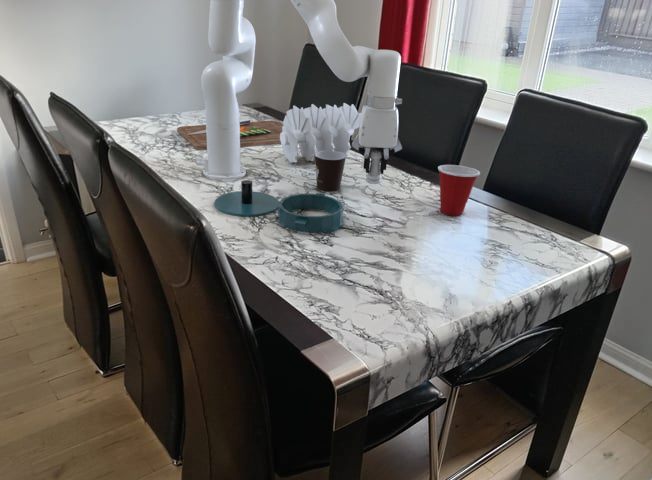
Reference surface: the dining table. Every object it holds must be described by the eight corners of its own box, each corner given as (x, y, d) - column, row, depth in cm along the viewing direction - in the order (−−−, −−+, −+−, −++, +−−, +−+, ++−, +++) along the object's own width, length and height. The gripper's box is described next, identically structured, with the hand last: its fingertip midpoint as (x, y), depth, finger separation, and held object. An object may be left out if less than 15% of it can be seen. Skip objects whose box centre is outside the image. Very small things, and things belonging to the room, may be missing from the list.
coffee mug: (340, 196, 160) (343, 161, 155) (310, 192, 161) (311, 157, 156) (347, 183, 170) (349, 149, 165) (318, 179, 171) (320, 146, 166)
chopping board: (188, 151, 189) (188, 141, 188) (168, 130, 210) (167, 122, 208) (311, 140, 208) (311, 132, 207) (281, 123, 229) (281, 115, 227)
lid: (204, 213, 144) (203, 188, 141) (228, 192, 158) (228, 168, 155) (267, 222, 141) (267, 196, 138) (286, 200, 155) (287, 176, 152)
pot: (267, 233, 136) (267, 215, 133) (291, 203, 154) (292, 187, 151) (331, 243, 133) (332, 225, 131) (348, 211, 151) (350, 194, 149)
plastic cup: (474, 208, 157) (482, 165, 151) (469, 222, 148) (478, 177, 142) (434, 201, 160) (441, 159, 154) (427, 215, 151) (434, 170, 145)
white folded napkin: (277, 171, 189) (343, 160, 199) (299, 163, 173) (369, 151, 183) (265, 115, 186) (332, 106, 196) (287, 101, 170) (358, 92, 181)
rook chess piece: (370, 185, 155) (373, 156, 151) (362, 180, 158) (364, 151, 154) (384, 183, 157) (387, 154, 153) (376, 178, 160) (378, 149, 156)
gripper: (411, 101, 150) (402, 169, 159) (348, 97, 150) (343, 166, 159) (415, 107, 144) (406, 178, 153) (349, 103, 144) (344, 174, 153)
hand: (374, 171), depth 156 cm, fingers closed on rook chess piece, 3 cm apart
